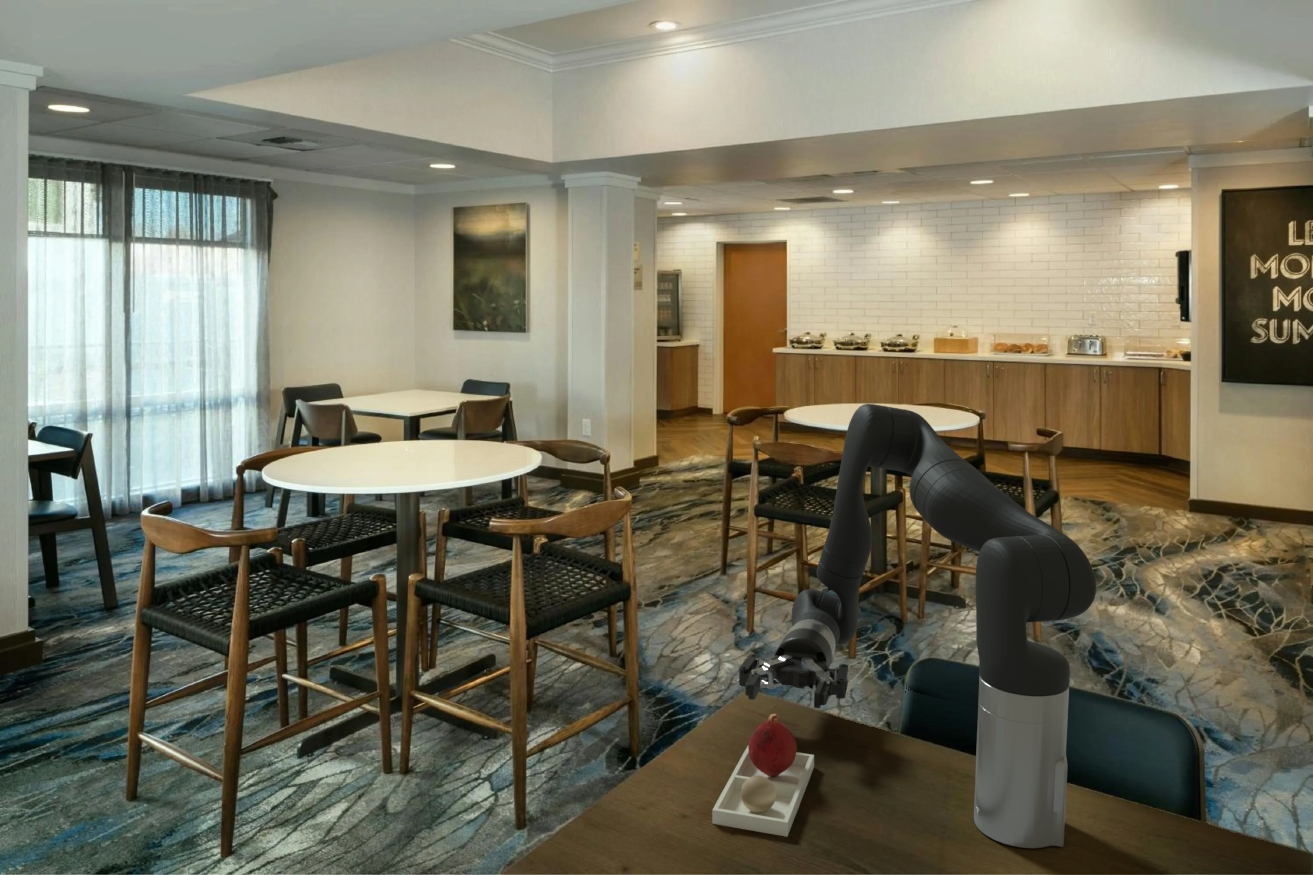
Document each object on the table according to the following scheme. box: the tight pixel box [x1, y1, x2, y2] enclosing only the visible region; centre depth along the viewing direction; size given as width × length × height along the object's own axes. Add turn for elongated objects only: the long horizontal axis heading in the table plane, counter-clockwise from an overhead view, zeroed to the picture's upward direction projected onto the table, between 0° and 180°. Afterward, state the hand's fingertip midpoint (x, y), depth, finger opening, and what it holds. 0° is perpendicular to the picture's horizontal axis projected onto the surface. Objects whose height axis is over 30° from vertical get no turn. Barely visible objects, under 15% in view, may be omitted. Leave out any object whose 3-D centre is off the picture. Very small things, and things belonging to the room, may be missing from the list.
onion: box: [747, 713, 798, 777], centre depth 116 cm, size 6×6×8 cm
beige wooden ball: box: [741, 776, 776, 813], centre depth 109 cm, size 4×4×4 cm
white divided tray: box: [711, 745, 815, 838], centre depth 113 cm, size 8×16×2 cm, turn 161°
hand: (783, 696), depth 122 cm, fingers open, 8 cm apart
